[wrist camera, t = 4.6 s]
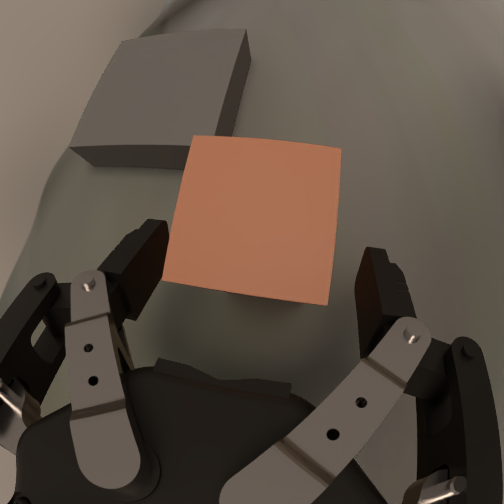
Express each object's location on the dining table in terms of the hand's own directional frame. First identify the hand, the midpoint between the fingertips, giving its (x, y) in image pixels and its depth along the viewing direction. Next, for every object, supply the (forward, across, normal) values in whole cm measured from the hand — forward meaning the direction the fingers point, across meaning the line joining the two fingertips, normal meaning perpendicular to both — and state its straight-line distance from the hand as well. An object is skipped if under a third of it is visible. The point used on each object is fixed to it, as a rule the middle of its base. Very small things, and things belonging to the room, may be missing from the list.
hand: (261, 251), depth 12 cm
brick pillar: (+5, 0, +4) cm, 6 cm away
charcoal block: (+13, +9, -3) cm, 16 cm away
